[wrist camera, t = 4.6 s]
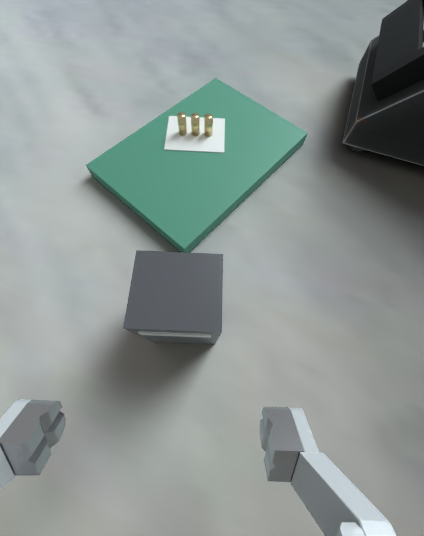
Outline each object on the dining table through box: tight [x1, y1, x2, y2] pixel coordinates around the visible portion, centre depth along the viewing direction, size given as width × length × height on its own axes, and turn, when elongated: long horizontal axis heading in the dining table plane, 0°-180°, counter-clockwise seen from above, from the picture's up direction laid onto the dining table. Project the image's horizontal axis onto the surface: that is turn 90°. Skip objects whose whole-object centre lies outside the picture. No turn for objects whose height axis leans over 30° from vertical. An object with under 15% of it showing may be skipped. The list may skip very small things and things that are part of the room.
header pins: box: [177, 112, 213, 137], centre depth 25 cm, size 1×4×2 cm, turn 88°
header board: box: [86, 78, 308, 253], centre depth 26 cm, size 20×14×2 cm
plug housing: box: [123, 250, 223, 344], centre depth 17 cm, size 5×4×8 cm
